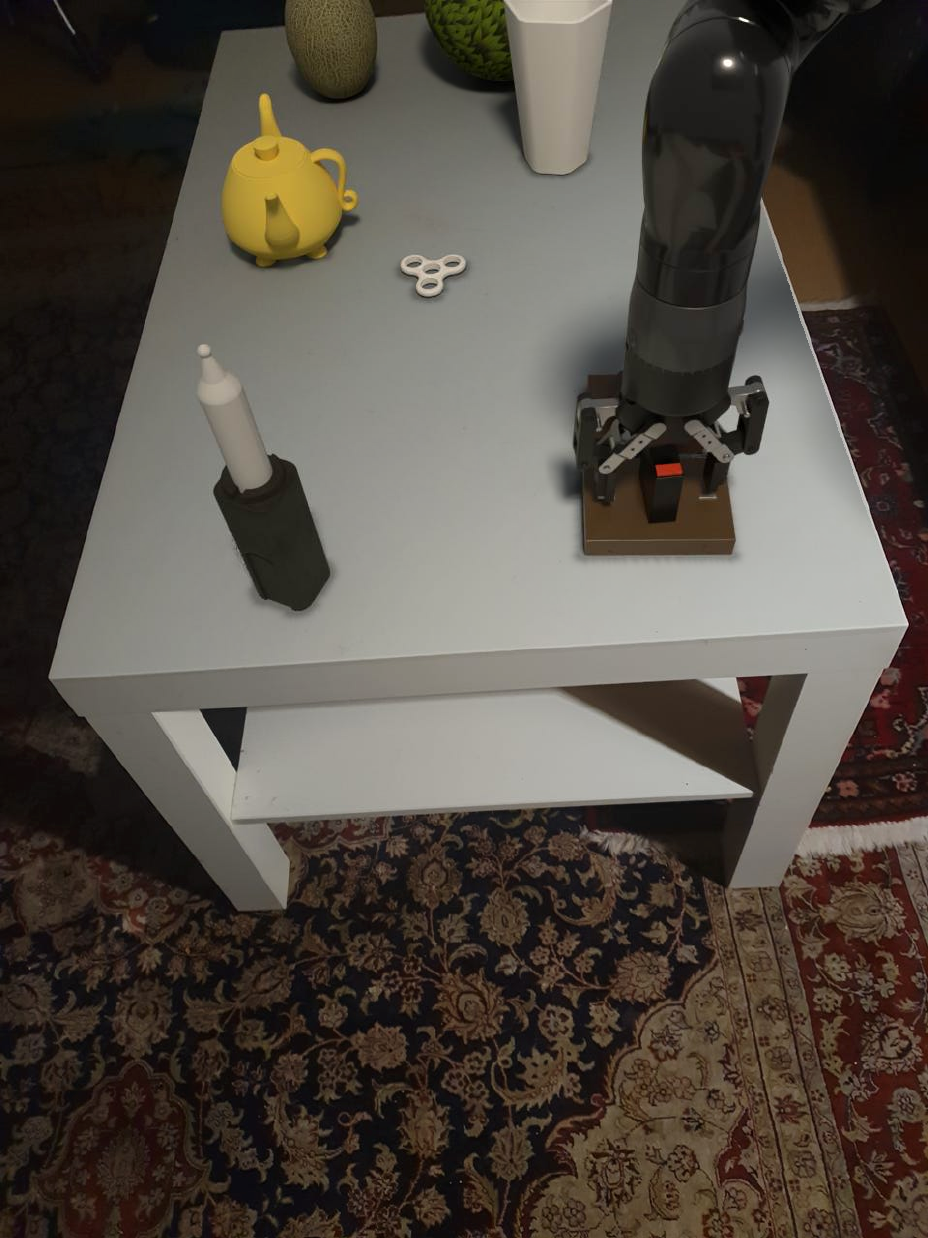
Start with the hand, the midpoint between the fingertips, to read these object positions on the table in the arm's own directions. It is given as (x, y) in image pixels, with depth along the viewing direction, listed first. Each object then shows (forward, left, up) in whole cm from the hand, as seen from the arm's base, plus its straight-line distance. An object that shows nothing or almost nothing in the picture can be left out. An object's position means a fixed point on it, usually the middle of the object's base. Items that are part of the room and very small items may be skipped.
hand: (657, 489), depth 76 cm
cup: (+26, -48, -3) cm, 55 cm away
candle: (+26, +17, -3) cm, 31 cm away
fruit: (+58, -55, -3) cm, 80 cm away
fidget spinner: (+31, -23, -3) cm, 39 cm away
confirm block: (+4, -10, -3) cm, 11 cm away
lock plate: (0, 0, -3) cm, 3 cm away
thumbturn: (0, 0, -1) cm, 1 cm away
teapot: (+48, -25, -3) cm, 55 cm away
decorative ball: (+39, -65, -3) cm, 76 cm away
